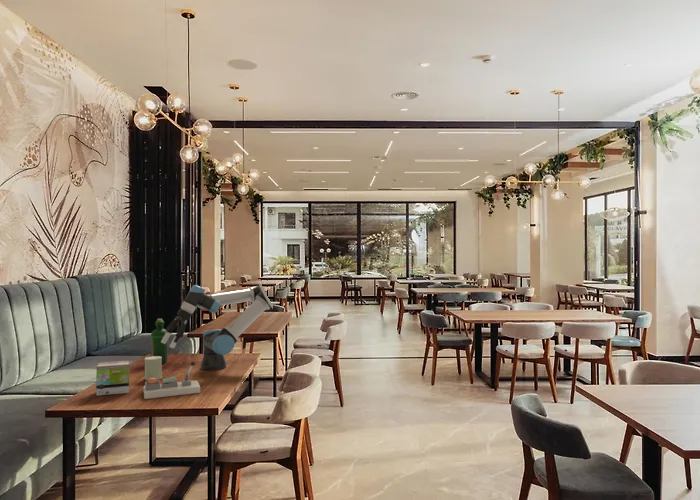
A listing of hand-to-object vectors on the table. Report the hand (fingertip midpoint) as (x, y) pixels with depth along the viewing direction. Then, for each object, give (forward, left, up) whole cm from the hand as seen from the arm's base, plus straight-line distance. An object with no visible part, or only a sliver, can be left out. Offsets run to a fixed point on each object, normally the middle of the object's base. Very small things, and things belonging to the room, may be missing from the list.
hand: (167, 345), depth 284 cm
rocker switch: (+1, +30, -12) cm, 32 cm away
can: (+7, -5, -19) cm, 21 cm away
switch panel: (0, +30, -19) cm, 35 cm away
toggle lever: (-7, +30, -13) cm, 33 cm away
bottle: (+1, -47, -19) cm, 51 cm away
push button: (+9, +30, -14) cm, 34 cm away
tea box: (+27, +17, -19) cm, 37 cm away
